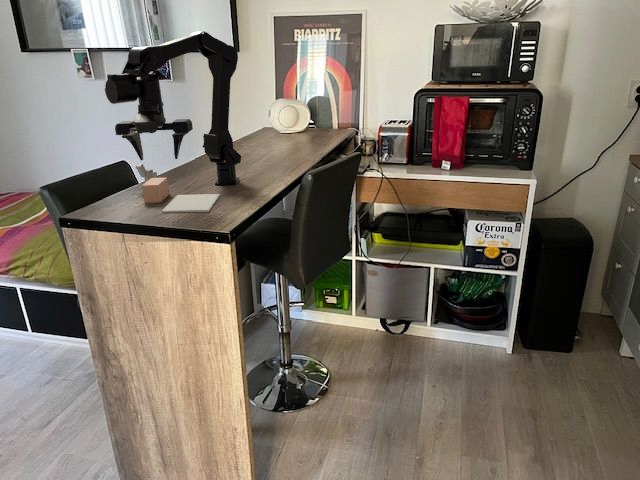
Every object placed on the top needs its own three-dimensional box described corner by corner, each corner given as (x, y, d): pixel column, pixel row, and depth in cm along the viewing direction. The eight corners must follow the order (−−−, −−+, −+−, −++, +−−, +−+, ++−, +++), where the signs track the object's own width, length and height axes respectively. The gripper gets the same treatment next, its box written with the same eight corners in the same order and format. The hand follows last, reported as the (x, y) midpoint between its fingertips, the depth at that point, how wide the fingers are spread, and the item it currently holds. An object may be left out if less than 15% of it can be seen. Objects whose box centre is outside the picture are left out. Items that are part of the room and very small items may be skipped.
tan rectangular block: (154, 194, 145) (151, 177, 143) (169, 194, 144) (167, 177, 143) (144, 203, 137) (141, 185, 135) (160, 202, 137) (158, 185, 135)
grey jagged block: (154, 184, 154) (150, 158, 151) (158, 184, 154) (154, 159, 151) (139, 190, 148) (134, 164, 145) (144, 191, 148) (139, 164, 145)
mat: (177, 196, 142) (177, 194, 141) (219, 195, 141) (219, 194, 141) (162, 212, 129) (162, 210, 128) (208, 211, 128) (208, 209, 128)
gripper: (101, 104, 121) (113, 168, 127) (179, 102, 121) (187, 165, 127) (117, 99, 131) (128, 158, 137) (189, 96, 131) (196, 155, 137)
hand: (159, 159), depth 134 cm, fingers open, 9 cm apart
